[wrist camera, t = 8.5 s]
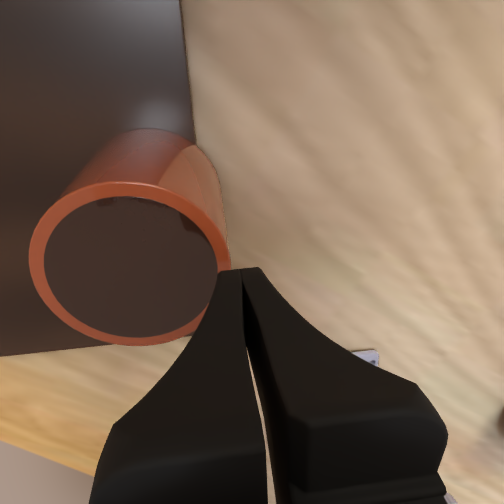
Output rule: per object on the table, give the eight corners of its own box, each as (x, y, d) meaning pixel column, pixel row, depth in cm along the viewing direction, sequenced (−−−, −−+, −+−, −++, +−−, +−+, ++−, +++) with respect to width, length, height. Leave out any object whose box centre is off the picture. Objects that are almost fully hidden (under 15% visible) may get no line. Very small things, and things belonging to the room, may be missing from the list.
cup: (226, 246, 22) (103, 259, 22) (214, 122, 19) (66, 134, 18) (238, 335, 16) (63, 357, 15) (221, 171, 12) (-7, 192, 12)
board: (215, 323, 26) (216, 333, 25) (2, 346, 25) (-6, 357, 24) (175, -41, 16) (174, -44, 15) (-186, -31, 15) (-209, -35, 14)
